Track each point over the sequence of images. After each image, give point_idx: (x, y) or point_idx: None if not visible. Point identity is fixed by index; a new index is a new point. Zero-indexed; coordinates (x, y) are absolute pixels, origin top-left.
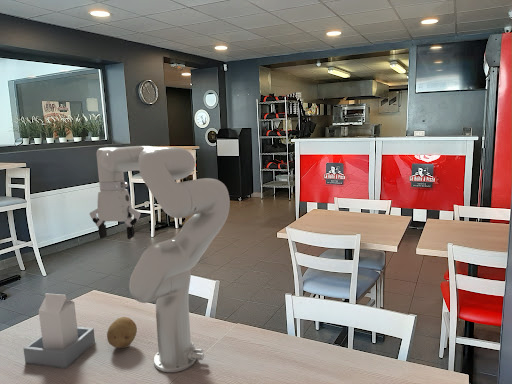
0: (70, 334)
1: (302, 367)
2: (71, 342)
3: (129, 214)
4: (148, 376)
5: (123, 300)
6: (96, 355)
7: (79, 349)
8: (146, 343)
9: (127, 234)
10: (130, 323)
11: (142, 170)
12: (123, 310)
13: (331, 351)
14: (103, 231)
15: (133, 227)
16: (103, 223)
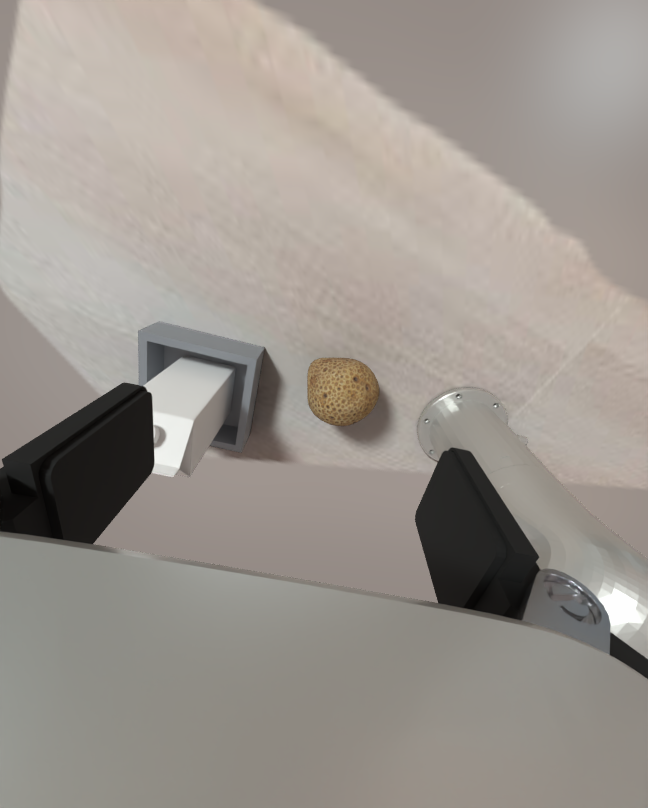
0: (220, 408)
1: None
2: (227, 399)
3: (640, 744)
4: (410, 464)
5: (242, 23)
6: (290, 398)
7: (252, 404)
8: (391, 361)
9: (427, 552)
10: (368, 406)
11: None
12: (275, 142)
13: None
14: (114, 480)
15: (529, 574)
16: (9, 528)
